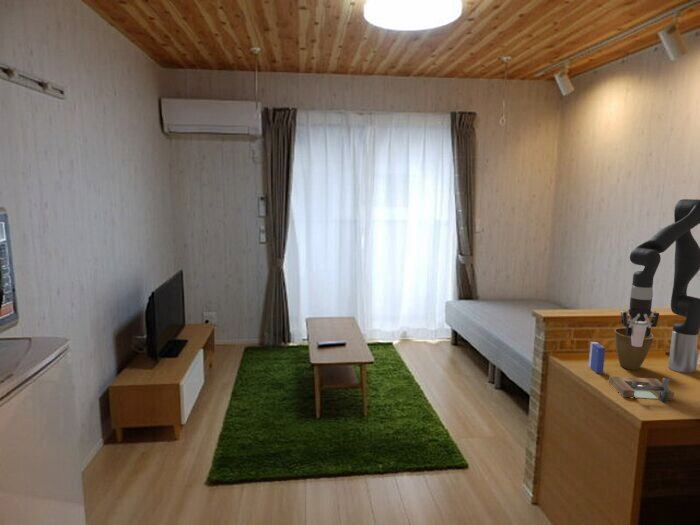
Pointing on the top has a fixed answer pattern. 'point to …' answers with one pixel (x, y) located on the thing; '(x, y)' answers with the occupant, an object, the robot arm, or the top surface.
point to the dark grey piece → (655, 388)
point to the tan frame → (625, 384)
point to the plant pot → (631, 349)
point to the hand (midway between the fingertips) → (637, 335)
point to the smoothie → (638, 333)
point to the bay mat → (644, 394)
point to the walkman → (596, 357)
